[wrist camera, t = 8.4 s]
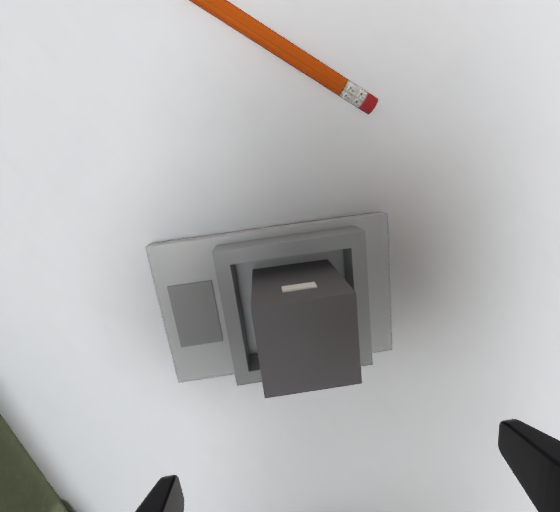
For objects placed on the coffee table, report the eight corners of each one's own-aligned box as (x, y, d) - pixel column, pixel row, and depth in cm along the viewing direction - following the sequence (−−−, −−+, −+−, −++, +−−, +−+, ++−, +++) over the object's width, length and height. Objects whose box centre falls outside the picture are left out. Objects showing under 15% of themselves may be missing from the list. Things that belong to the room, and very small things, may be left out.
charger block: (333, 326, 20) (361, 383, 14) (262, 337, 19) (265, 398, 14) (327, 257, 18) (356, 291, 13) (252, 268, 18) (250, 306, 13)
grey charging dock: (385, 341, 21) (404, 366, 18) (182, 373, 21) (171, 402, 18) (380, 211, 19) (401, 217, 16) (151, 243, 18) (132, 254, 16)
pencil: (366, 115, 18) (372, 112, 17) (33, -96, 14) (19, -114, 14) (374, 101, 18) (380, 97, 17) (39, -116, 14) (25, -136, 13)
